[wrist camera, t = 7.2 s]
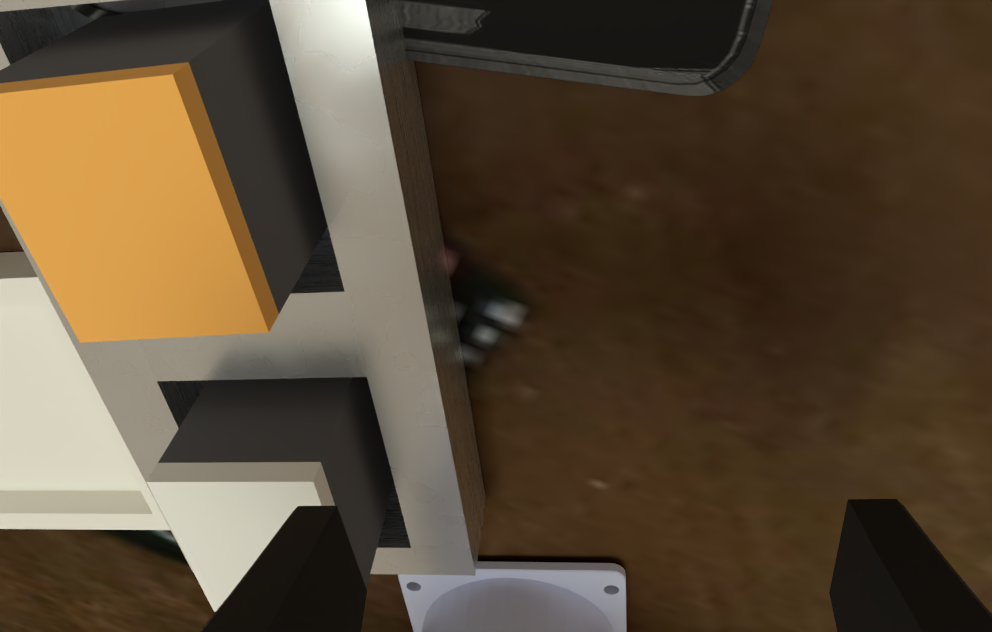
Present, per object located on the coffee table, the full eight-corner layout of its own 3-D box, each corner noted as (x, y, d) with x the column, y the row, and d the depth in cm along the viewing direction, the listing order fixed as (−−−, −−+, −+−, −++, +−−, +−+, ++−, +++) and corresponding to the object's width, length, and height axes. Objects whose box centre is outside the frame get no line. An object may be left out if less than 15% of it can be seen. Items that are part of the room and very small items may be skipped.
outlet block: (485, 497, 26) (475, 575, 23) (227, 497, 27) (192, 571, 24) (383, -125, 15) (345, -103, 13) (-29, -79, 16) (-135, -51, 14)
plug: (337, 207, 19) (269, 332, 15) (186, 219, 20) (79, 342, 15) (277, -7, 16) (172, 74, 12) (103, 15, 17) (-55, 99, 13)
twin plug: (397, 469, 24) (359, 614, 20) (275, 469, 25) (214, 611, 21) (365, 342, 21) (313, 481, 17) (228, 345, 22) (146, 482, 18)
